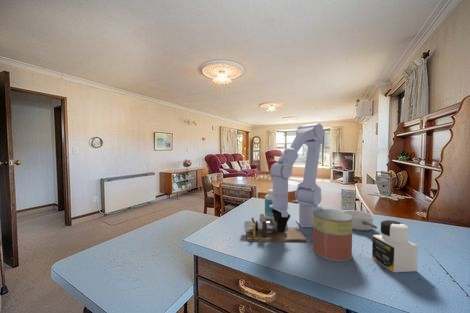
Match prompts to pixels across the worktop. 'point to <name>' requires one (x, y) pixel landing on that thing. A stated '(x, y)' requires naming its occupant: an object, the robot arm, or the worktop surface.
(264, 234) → the iron collar
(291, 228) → the walnut board
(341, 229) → the canned food
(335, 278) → the worktop surface
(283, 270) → the worktop surface
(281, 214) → the robot arm
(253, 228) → the brass index gate
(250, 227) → the air tube
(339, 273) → the worktop surface
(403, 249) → the medicine bottle
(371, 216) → the saucepan
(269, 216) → the pill bottle
